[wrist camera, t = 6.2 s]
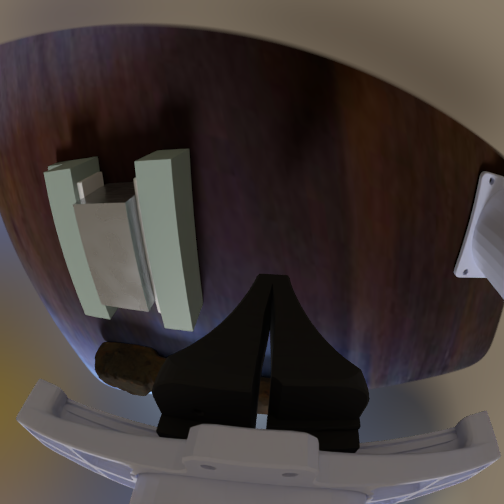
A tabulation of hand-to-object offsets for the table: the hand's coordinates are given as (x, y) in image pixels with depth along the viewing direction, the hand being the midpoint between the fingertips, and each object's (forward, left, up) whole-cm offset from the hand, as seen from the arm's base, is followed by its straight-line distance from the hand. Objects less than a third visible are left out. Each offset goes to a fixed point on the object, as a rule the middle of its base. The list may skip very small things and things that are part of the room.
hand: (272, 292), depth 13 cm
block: (+9, 0, -6) cm, 11 cm away
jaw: (+6, 0, -6) cm, 8 cm away
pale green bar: (+13, 0, -6) cm, 14 cm away
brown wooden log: (+7, +14, -6) cm, 17 cm away
